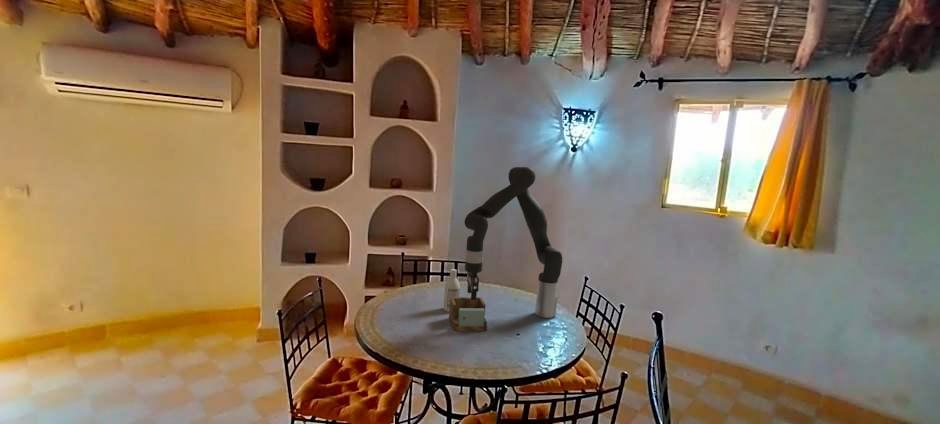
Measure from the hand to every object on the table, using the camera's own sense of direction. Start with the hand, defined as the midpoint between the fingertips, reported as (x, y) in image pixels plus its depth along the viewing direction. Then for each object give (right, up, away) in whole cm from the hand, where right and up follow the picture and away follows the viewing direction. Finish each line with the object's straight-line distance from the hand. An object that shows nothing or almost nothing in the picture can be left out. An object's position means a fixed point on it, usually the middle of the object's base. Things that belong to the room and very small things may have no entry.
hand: (471, 296), depth 219 cm
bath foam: (-10, -11, +23) cm, 27 cm away
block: (0, -15, +2) cm, 15 cm away
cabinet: (-2, -14, +7) cm, 16 cm away
